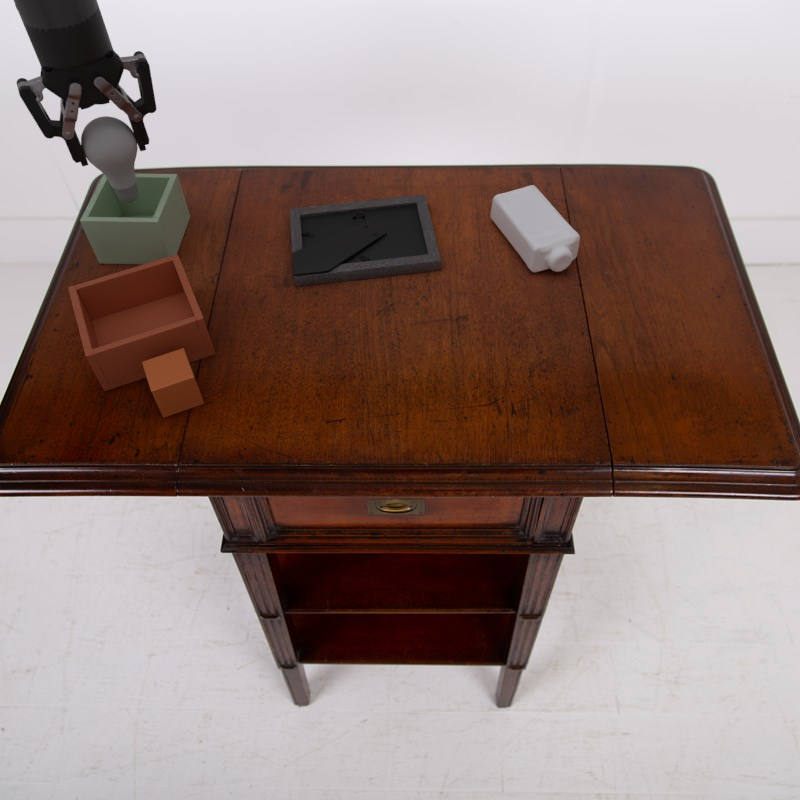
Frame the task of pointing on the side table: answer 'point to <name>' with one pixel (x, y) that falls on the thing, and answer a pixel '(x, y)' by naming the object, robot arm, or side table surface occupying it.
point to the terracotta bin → (138, 320)
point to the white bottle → (535, 229)
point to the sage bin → (137, 221)
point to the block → (172, 382)
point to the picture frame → (363, 240)
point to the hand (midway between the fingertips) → (113, 154)
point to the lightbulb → (113, 154)
